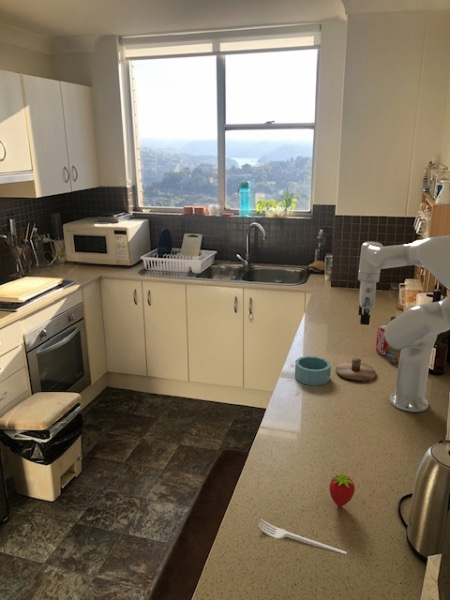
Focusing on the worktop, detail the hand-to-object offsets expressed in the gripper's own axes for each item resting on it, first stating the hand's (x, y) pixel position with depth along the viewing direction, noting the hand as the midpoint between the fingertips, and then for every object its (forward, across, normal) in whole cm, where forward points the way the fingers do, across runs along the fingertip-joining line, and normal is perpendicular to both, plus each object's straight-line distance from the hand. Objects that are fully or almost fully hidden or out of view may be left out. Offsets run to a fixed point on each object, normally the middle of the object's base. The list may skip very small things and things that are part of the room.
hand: (363, 319), depth 181 cm
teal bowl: (+22, -9, +17) cm, 29 cm away
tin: (+22, +12, -19) cm, 32 cm away
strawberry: (+21, -77, +9) cm, 80 cm away
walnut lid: (+22, -1, +1) cm, 22 cm away
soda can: (+22, +22, -12) cm, 34 cm away
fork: (+21, -90, +17) cm, 94 cm away
